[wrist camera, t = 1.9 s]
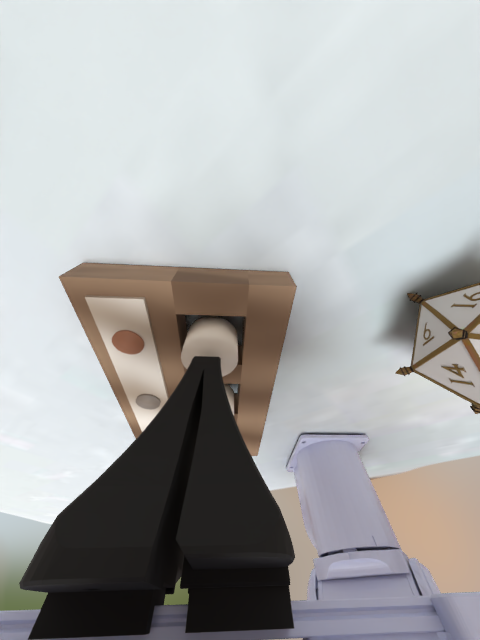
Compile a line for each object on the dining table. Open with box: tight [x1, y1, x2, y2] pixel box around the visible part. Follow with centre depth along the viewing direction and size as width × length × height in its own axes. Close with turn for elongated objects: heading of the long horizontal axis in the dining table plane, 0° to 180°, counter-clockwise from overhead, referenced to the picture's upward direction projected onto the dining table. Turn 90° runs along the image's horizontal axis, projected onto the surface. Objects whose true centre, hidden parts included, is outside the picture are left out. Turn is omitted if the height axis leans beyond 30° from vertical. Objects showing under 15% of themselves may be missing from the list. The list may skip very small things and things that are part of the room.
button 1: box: [181, 316, 238, 377], centre depth 12 cm, size 3×3×2 cm
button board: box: [59, 263, 297, 456], centre depth 17 cm, size 20×12×2 cm, turn 177°
